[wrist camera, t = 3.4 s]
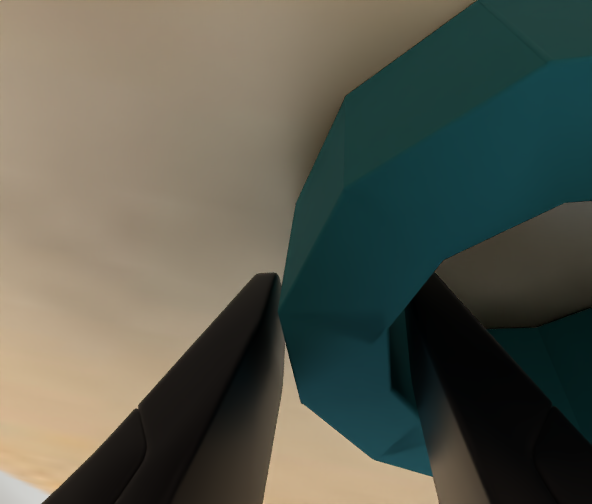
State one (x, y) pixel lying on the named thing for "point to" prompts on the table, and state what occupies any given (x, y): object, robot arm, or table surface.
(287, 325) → the ring
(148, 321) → the table surface
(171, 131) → the table surface
